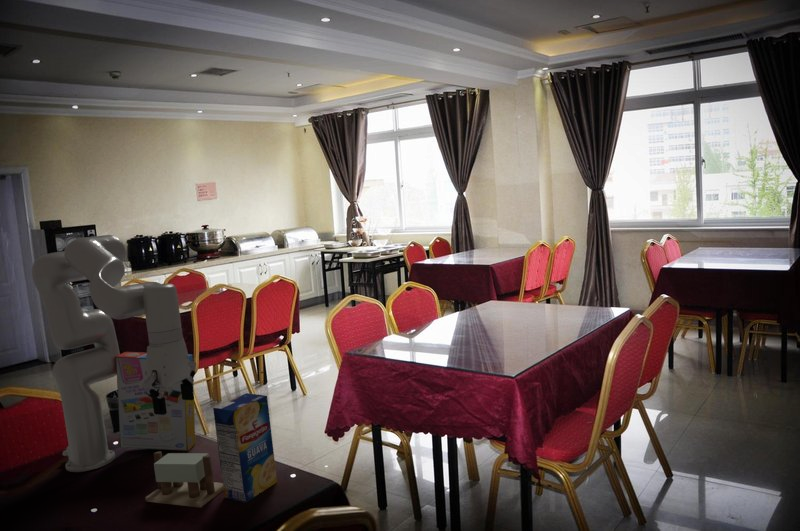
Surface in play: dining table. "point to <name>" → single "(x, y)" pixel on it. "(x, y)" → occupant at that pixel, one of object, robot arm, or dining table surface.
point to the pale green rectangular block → (180, 467)
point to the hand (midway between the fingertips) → (174, 406)
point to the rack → (187, 488)
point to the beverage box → (245, 446)
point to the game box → (151, 410)
